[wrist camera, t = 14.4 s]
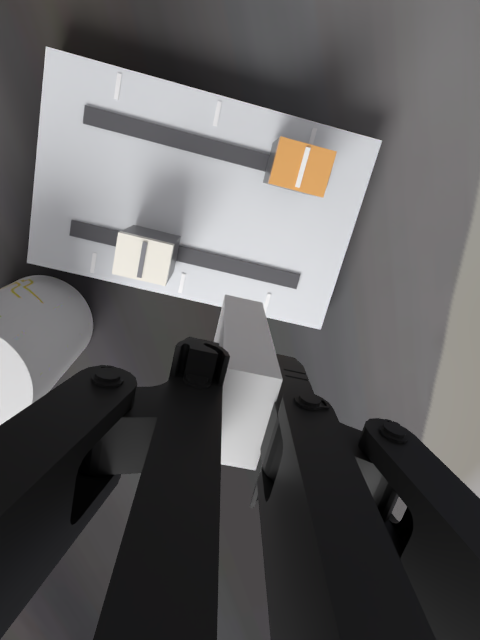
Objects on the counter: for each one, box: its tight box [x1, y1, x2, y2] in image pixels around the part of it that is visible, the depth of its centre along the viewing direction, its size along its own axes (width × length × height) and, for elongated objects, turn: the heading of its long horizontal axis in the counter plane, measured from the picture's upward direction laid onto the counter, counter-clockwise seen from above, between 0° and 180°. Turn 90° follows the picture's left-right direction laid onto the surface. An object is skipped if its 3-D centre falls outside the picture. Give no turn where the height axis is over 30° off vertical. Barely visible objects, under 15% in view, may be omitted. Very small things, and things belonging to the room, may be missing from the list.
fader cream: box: [112, 225, 181, 286], centre depth 30 cm, size 3×4×5 cm
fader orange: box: [263, 136, 337, 198], centre depth 28 cm, size 3×4×5 cm
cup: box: [0, 275, 93, 425], centre depth 31 cm, size 8×8×12 cm
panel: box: [27, 47, 382, 330], centre depth 32 cm, size 15×24×3 cm, turn 76°
